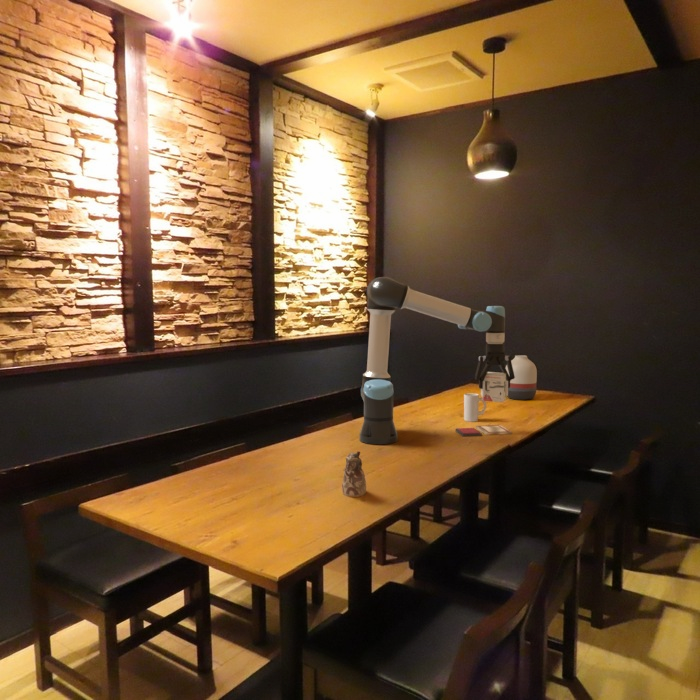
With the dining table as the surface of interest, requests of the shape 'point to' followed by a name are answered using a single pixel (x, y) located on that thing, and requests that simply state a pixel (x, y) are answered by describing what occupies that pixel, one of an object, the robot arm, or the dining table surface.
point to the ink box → (495, 387)
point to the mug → (472, 407)
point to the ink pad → (468, 432)
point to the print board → (493, 429)
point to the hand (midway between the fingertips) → (494, 395)
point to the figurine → (354, 476)
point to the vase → (522, 379)
